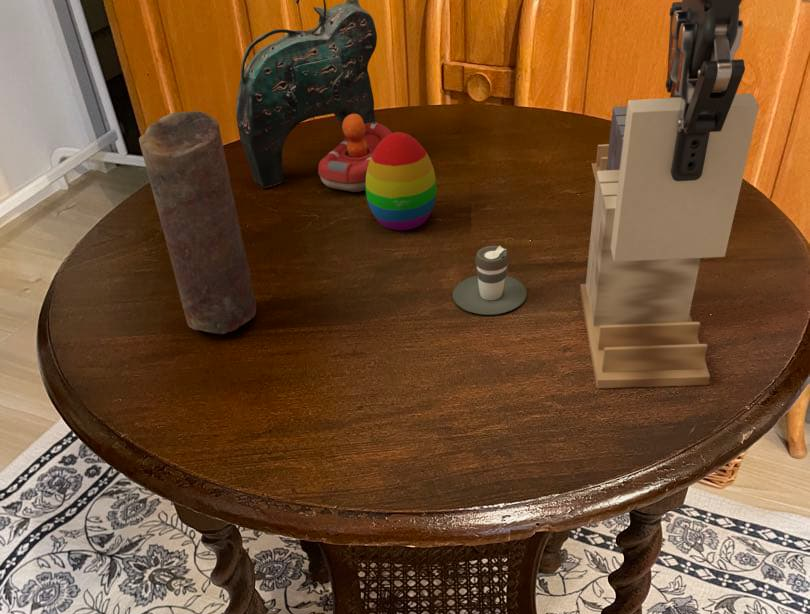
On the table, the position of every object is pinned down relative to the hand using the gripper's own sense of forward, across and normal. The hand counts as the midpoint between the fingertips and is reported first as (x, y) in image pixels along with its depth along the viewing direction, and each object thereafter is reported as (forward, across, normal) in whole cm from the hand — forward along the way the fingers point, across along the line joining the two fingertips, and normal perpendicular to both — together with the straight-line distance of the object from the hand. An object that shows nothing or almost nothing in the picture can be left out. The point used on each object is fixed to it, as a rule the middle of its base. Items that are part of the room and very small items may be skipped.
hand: (682, 169), depth 66 cm
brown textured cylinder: (+19, +10, +42) cm, 47 cm away
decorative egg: (+19, +30, +24) cm, 43 cm away
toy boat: (+19, +42, +30) cm, 55 cm away
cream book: (+7, 0, 0) cm, 7 cm away
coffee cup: (+19, +13, +14) cm, 27 cm away
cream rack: (+19, +5, 0) cm, 19 cm away
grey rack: (+19, +31, -4) cm, 36 cm away
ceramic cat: (+19, +46, +36) cm, 61 cm away
